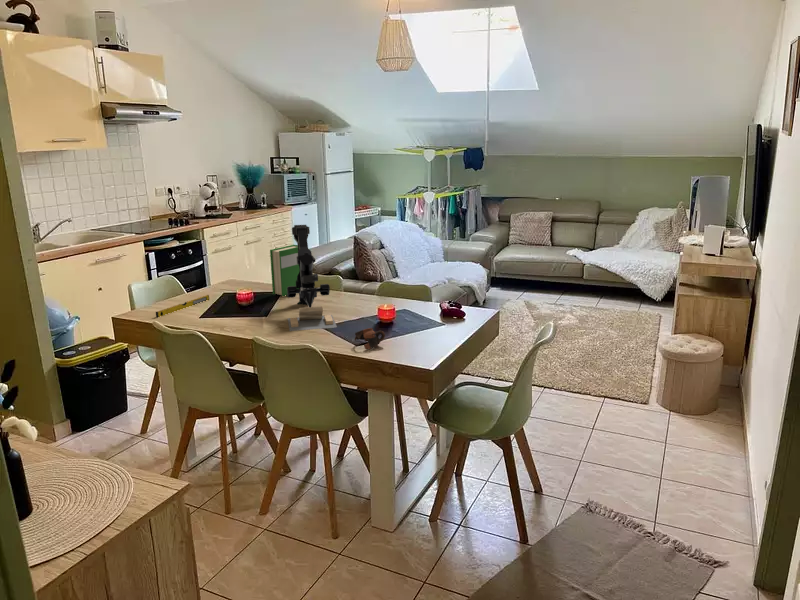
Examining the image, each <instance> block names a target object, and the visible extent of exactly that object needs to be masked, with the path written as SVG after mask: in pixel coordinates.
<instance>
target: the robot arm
mask: <svg viewBox="0 0 800 600" xmlns="http://www.w3.org/2000/svg"><path fill="white" fill-rule="evenodd" d="M291 234H292V236H293V239H294V241H295V242H296V243H297V244H296V245H298V256H297V264H298V265H299V274H298V276H297V280H296V286H288V287H287V296H286V297H287V298H288V299H291V298H295V297H297V294H298V296H299V298H298V299H299V301H298V302H297V303H296V304H297V305H303V306H304V305H305V306H306V305H307V307H313V306H312V305H313V302H314V300H315V298H317V297H318V293H319V294H320V295H321V296H330V292H331V291H330V290H331V288H330V285H329V284H328V283H322V284H320V285H319V287H316V284H315V282H318V281H319V276H318V274H319V273H314V270H313V269H314V264H315V263H316V258H315V257H314V255H313V254H312V250H311V249H310V248H309V244H308V237H309V235H310V234H311V231H310V226H308V225H307V224H294V225H293V226H292V227H291ZM297 288H299V289H297Z"/></svg>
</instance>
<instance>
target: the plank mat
mask: <svg viewBox="0 0 800 600" xmlns="http://www.w3.org/2000/svg"><path fill="white" fill-rule="evenodd" d="M287 323H288V329H289V332H293V331H297V332H298V331H306V330H307V331H308V330H309V331H310V330H319V329H320V330H322V329H333V328H334V329H335V328H338V326H337V323H336V322H335V319H334V316H333V315H332V314H327V315H322V319H313V320H300V321H299V316H297V317H287Z"/></svg>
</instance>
